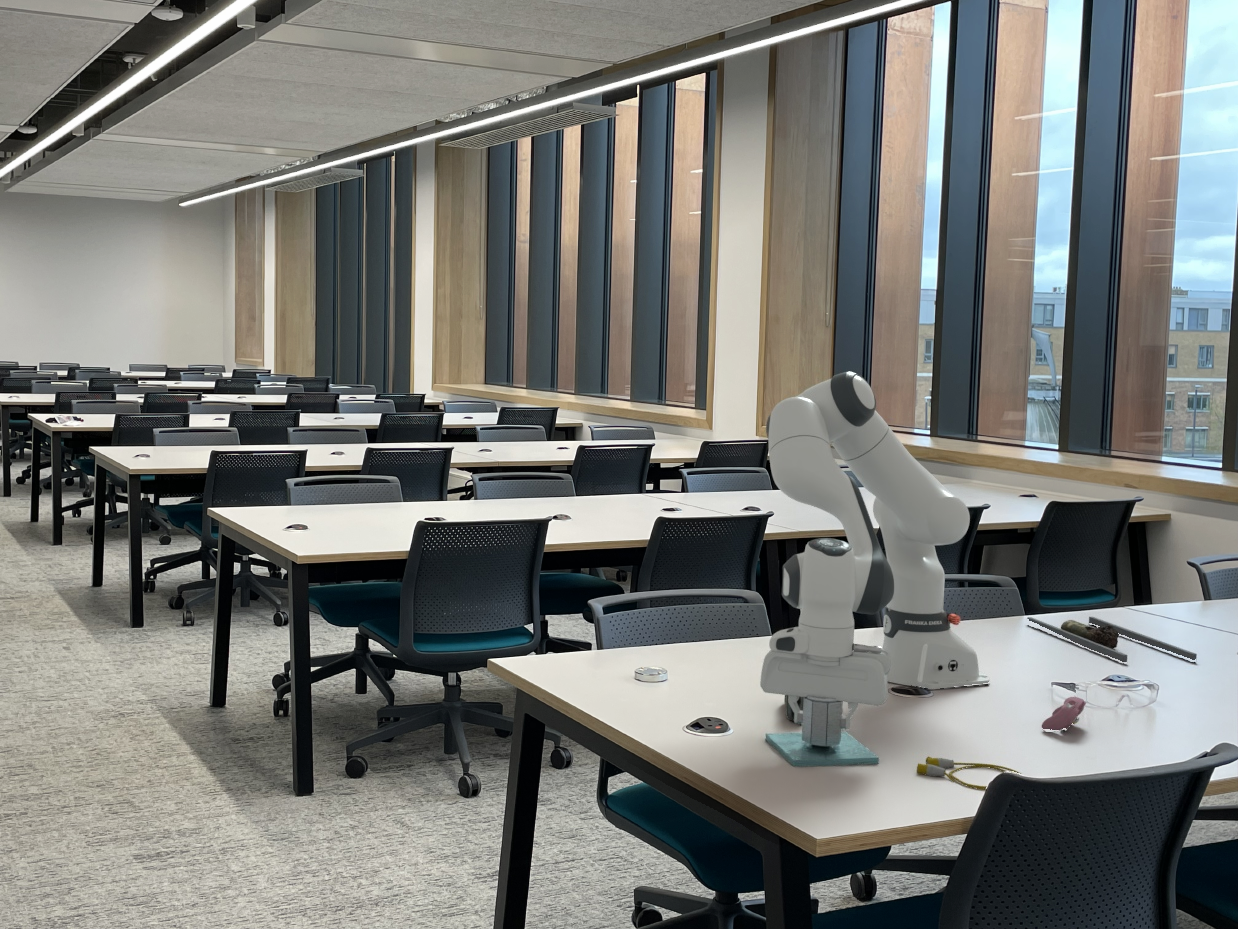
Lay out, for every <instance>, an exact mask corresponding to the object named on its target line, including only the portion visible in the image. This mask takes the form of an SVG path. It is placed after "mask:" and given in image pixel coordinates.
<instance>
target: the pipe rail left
mask: <svg viewBox="0 0 1238 929" xmlns="http://www.w3.org/2000/svg"><path fill="white" fill-rule="evenodd" d="M1027 619H1029V621H1032V622H1034V623H1037V624H1039V625H1040V626H1042V627H1045V628H1047V629H1049V630H1051V631H1053V632H1055V633H1057V634H1059V635H1062V636H1063V637H1065V638H1067V639H1070V640H1071V641H1073V642H1075V643H1078V644H1080V645H1082V646H1084V647H1087V648H1089V649H1091V650H1094V651H1097V652H1099V653H1102V654H1104V655H1108V656H1110V657H1112V658H1115V659H1118V660H1120V661H1122V662H1127V663H1128V654H1126V653H1124V652H1121V651H1118V650H1115V649H1114V650H1113V649H1111V648H1108V647H1105V646H1103V645H1100V644H1098V643H1095V642H1093V641H1090V640H1088V639H1085V638H1083V637H1080V636H1077V635H1075V634H1072V633H1070V632H1067V631H1065V630H1062V629H1061V627H1058V626H1054V625H1052V624H1049V623H1047V622H1044V621H1042V620H1040V619H1037V618H1034V617H1031V616H1030V617H1029V616H1028V617H1027V618H1026V620H1027Z"/></svg>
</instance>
